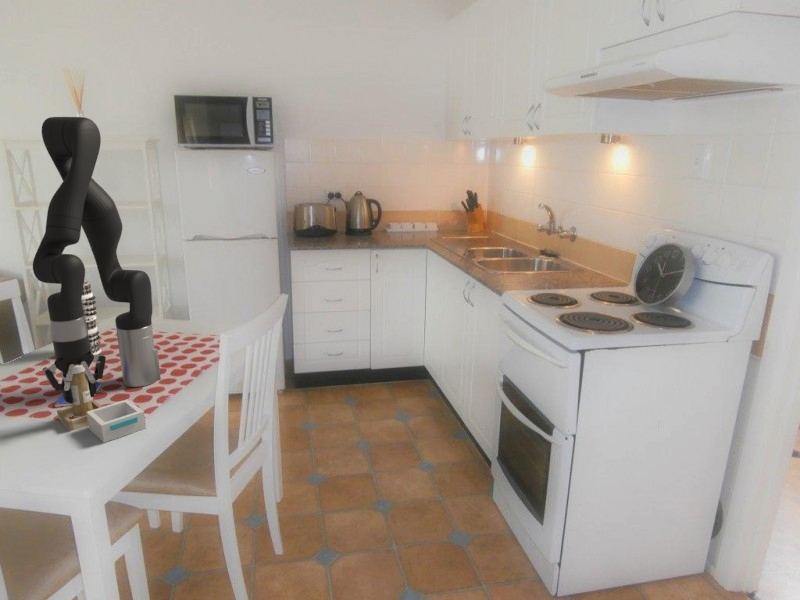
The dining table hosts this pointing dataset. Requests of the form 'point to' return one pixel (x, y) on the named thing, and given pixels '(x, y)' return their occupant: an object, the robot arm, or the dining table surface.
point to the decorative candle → (90, 318)
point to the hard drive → (63, 403)
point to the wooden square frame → (77, 422)
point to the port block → (116, 420)
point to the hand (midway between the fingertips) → (80, 399)
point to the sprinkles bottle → (80, 391)
